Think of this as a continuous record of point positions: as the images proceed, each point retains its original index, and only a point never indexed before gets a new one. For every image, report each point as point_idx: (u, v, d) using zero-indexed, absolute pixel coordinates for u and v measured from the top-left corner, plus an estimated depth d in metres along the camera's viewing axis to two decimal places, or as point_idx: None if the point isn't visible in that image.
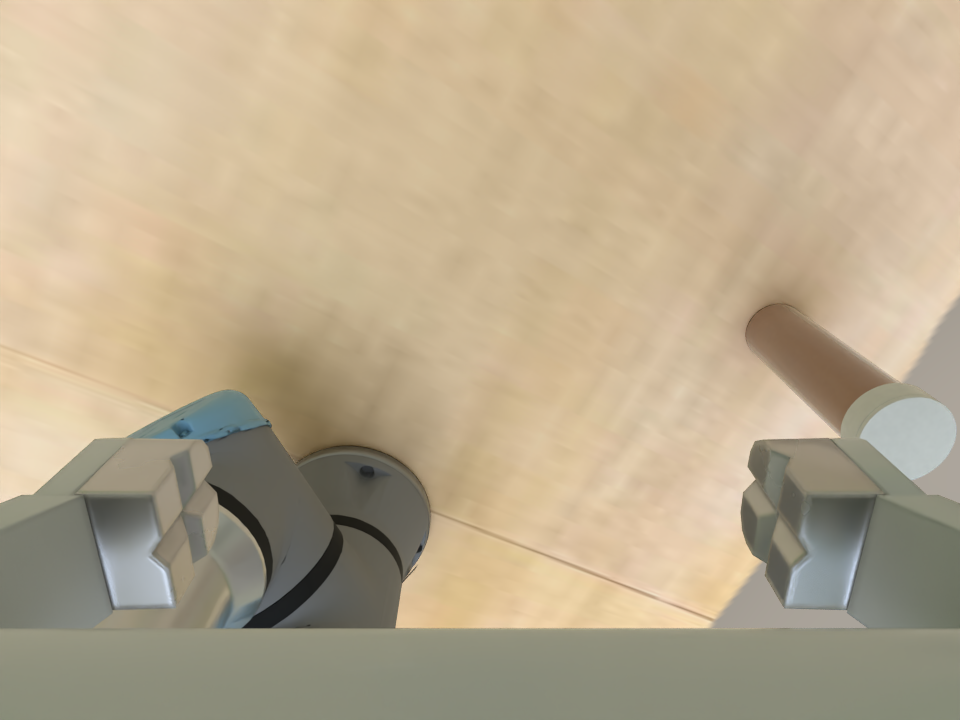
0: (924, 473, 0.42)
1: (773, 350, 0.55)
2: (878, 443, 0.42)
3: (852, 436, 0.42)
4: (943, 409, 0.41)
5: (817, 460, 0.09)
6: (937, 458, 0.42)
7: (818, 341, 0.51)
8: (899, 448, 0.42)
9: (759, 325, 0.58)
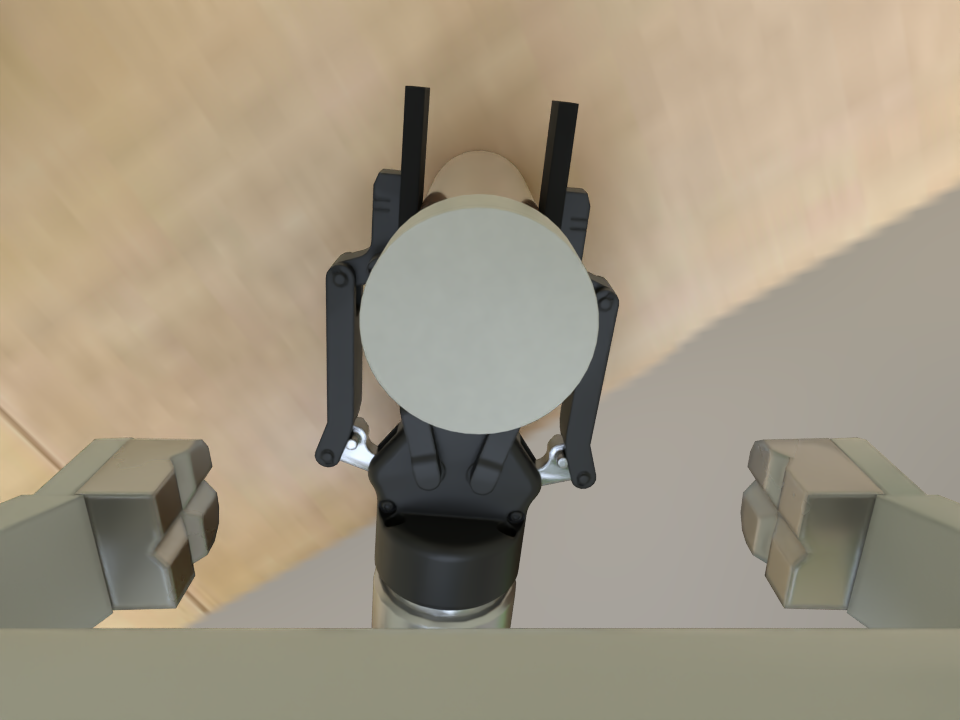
0: (486, 429, 0.18)
1: (435, 182, 0.29)
2: (416, 299, 0.17)
3: None
4: (585, 292, 0.16)
5: (817, 460, 0.09)
6: (525, 408, 0.18)
7: (495, 172, 0.26)
8: (457, 338, 0.17)
9: (452, 161, 0.33)
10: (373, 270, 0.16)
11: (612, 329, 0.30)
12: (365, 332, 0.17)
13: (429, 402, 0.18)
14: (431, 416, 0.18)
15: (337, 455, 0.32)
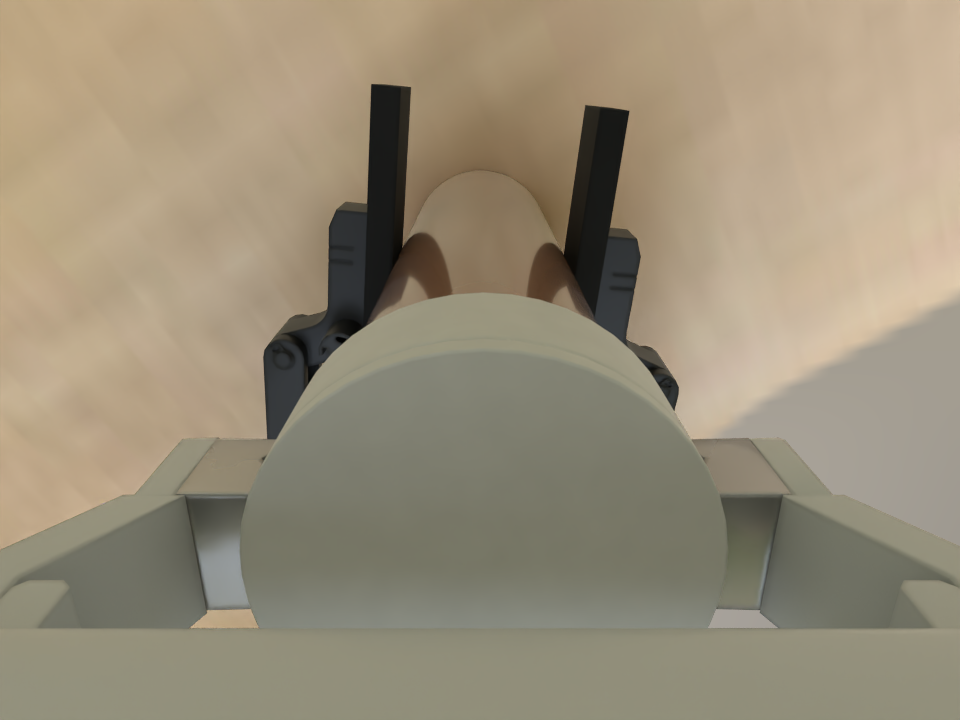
0: None
1: (418, 220, 0.21)
2: (353, 524, 0.08)
3: (277, 439, 0.08)
4: (704, 511, 0.08)
5: (731, 460, 0.09)
6: None
7: (505, 213, 0.18)
8: (439, 593, 0.08)
9: (445, 186, 0.24)
10: (261, 472, 0.08)
11: None
12: (253, 583, 0.08)
13: None
14: None
15: None
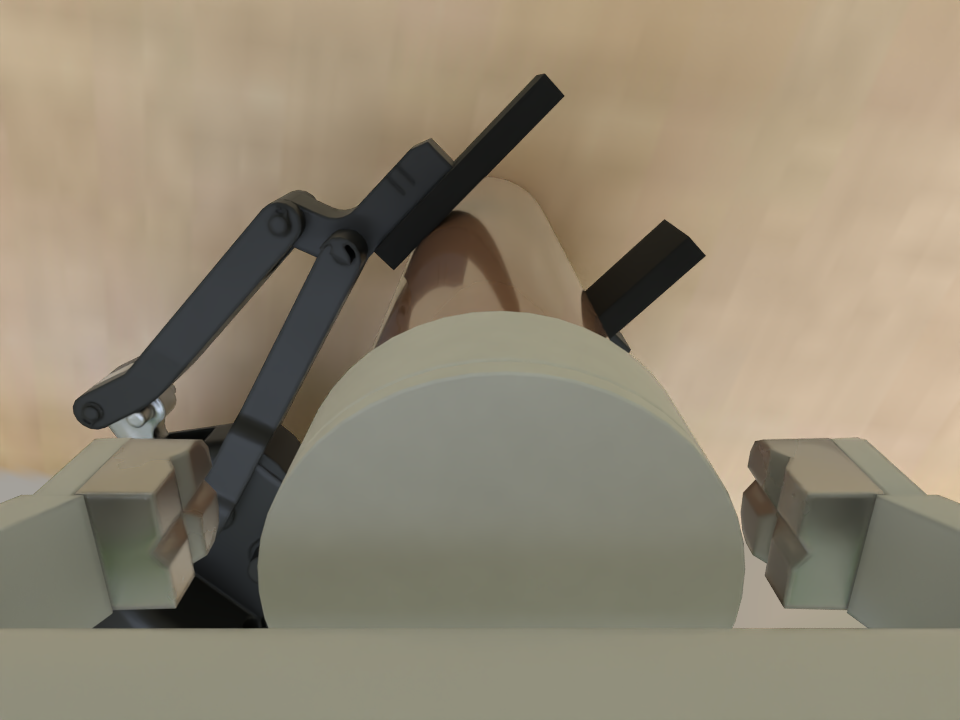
0: None
1: (475, 200, 0.21)
2: (365, 616, 0.08)
3: None
4: (640, 428, 0.07)
5: (817, 460, 0.09)
6: None
7: (566, 257, 0.18)
8: None
9: (498, 184, 0.24)
10: (265, 618, 0.08)
11: None
12: None
13: None
14: None
15: (106, 420, 0.21)
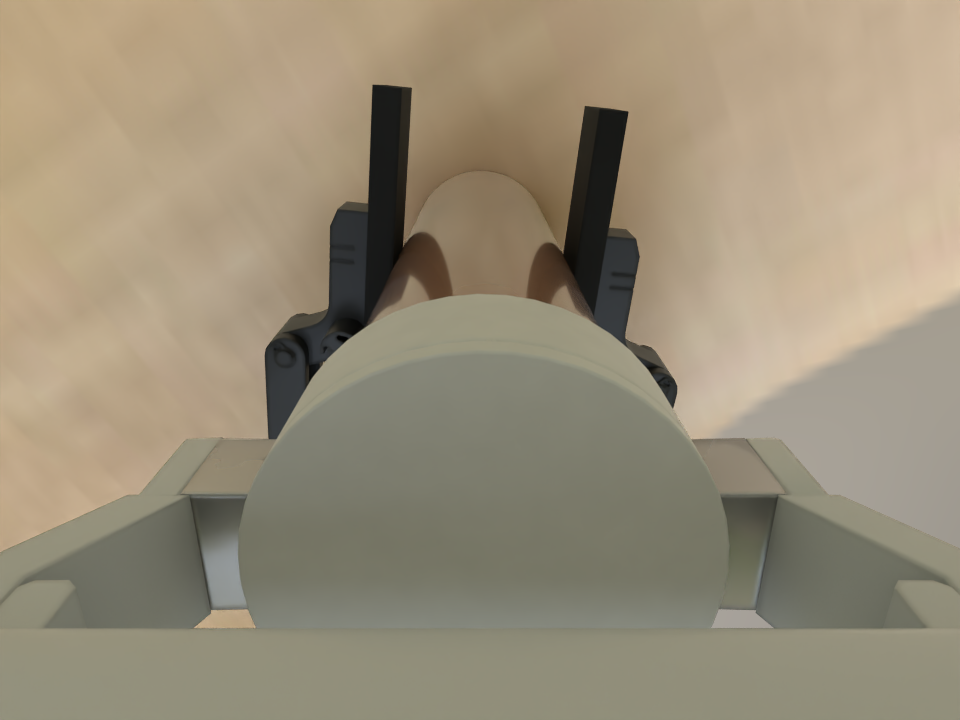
0: (707, 611, 0.08)
1: (419, 220, 0.21)
2: None
3: None
4: (455, 371, 0.07)
5: (727, 460, 0.09)
6: (688, 534, 0.08)
7: (505, 212, 0.18)
8: (492, 617, 0.08)
9: (445, 186, 0.24)
10: None
11: None
12: None
13: None
14: None
15: None
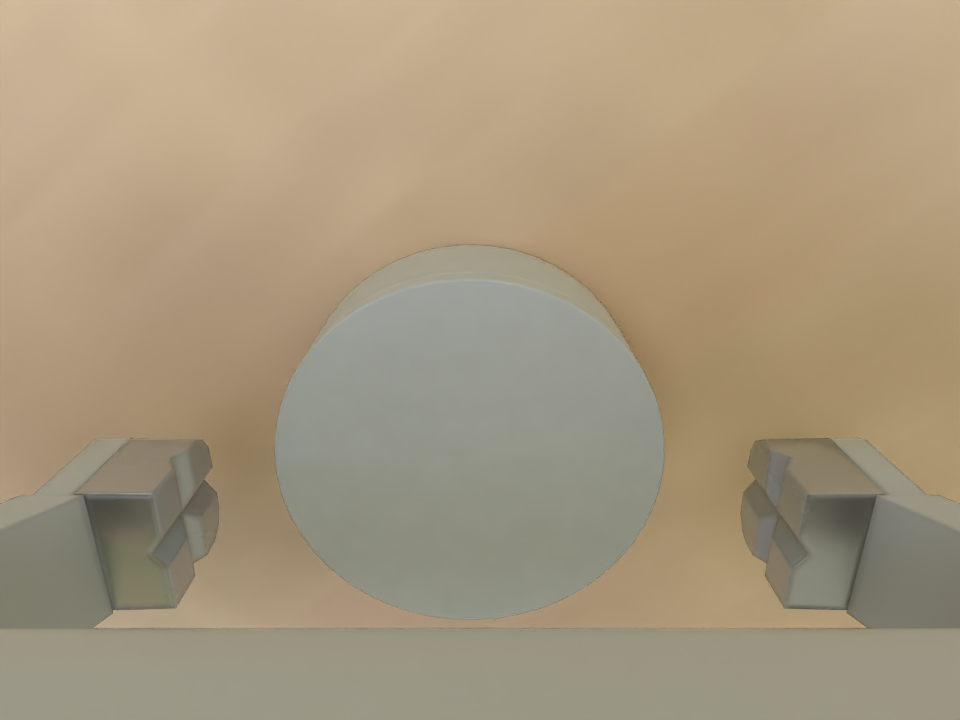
0: (649, 494, 0.10)
1: None
2: (402, 539, 0.11)
3: None
4: (446, 295, 0.09)
5: (817, 460, 0.09)
6: (631, 428, 0.10)
7: None
8: (478, 500, 0.11)
9: None
10: None
11: None
12: (437, 611, 0.11)
13: (573, 560, 0.11)
14: (599, 562, 0.11)
15: None
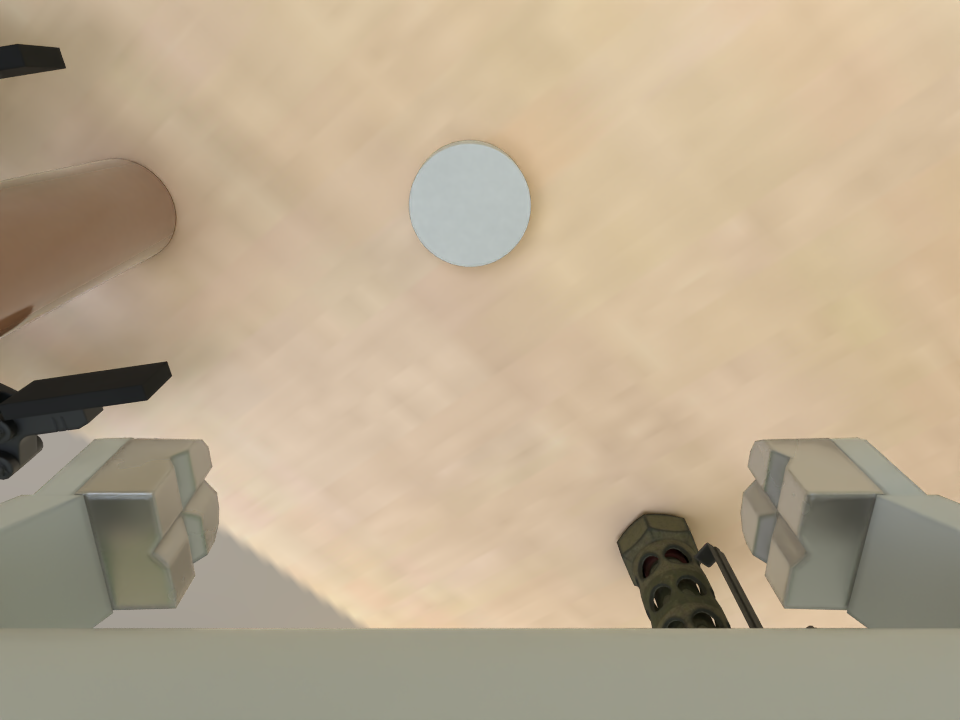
0: (526, 216, 0.33)
1: (78, 179, 0.29)
2: (448, 234, 0.33)
3: None
4: (462, 148, 0.32)
5: (817, 460, 0.09)
6: (519, 192, 0.33)
7: (83, 250, 0.26)
8: (472, 219, 0.33)
9: (138, 179, 0.32)
10: (429, 250, 0.34)
11: None
12: (459, 263, 0.34)
13: (504, 242, 0.34)
14: (512, 243, 0.34)
15: None
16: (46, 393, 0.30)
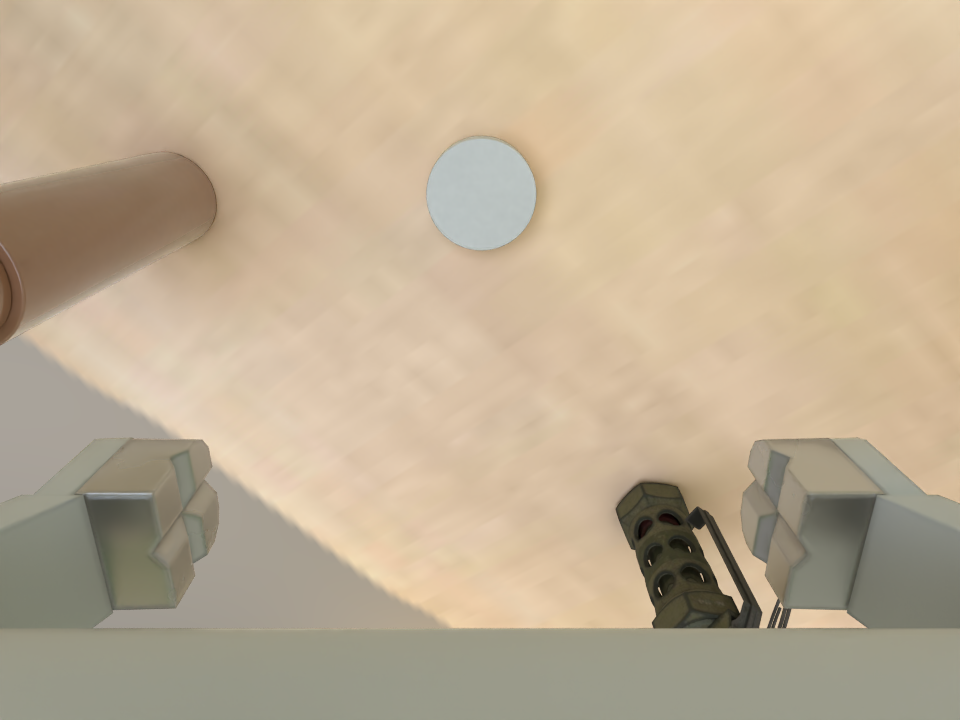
0: (532, 204, 0.37)
1: (136, 169, 0.32)
2: (461, 220, 0.37)
3: None
4: (475, 143, 0.35)
5: (817, 460, 0.09)
6: (526, 183, 0.36)
7: (142, 230, 0.30)
8: (483, 207, 0.37)
9: (185, 170, 0.36)
10: (444, 235, 0.37)
11: None
12: (471, 247, 0.38)
13: (512, 227, 0.37)
14: (519, 228, 0.37)
15: None
16: None
